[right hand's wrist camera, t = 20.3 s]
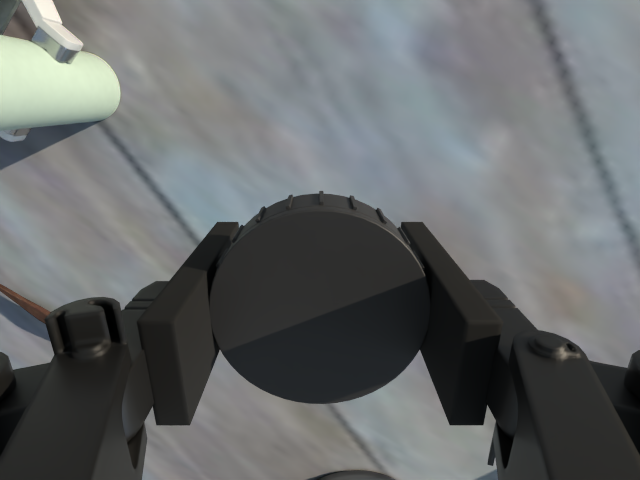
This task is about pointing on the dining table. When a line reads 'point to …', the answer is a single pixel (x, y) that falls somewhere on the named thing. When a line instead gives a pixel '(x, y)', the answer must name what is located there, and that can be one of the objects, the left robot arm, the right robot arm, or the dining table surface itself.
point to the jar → (52, 87)
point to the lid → (319, 300)
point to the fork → (26, 304)
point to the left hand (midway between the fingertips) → (47, 94)
